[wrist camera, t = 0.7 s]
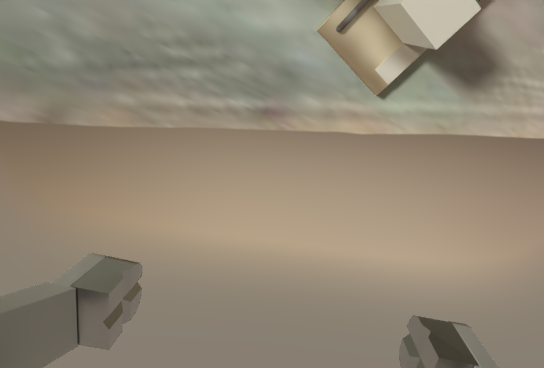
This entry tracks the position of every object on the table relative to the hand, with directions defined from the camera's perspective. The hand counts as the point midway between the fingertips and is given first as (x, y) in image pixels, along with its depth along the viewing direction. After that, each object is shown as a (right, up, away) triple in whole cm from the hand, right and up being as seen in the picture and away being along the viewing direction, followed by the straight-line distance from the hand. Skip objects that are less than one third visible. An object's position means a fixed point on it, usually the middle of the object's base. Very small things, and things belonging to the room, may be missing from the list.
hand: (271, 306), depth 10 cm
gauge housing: (+18, +25, +30) cm, 43 cm away
